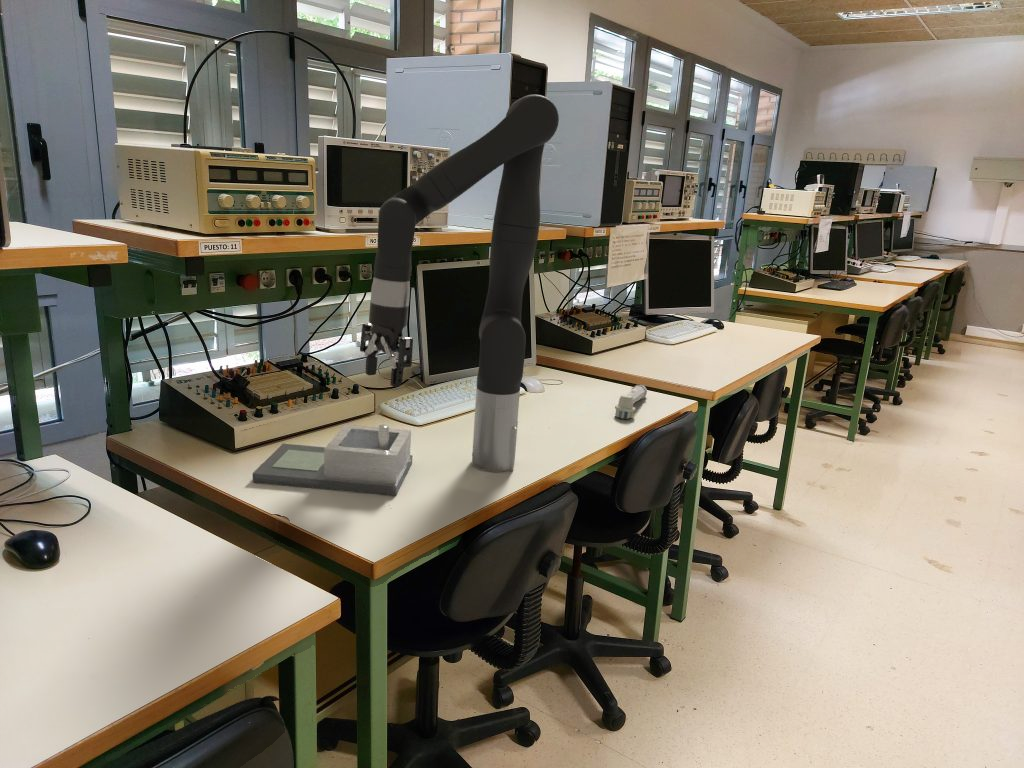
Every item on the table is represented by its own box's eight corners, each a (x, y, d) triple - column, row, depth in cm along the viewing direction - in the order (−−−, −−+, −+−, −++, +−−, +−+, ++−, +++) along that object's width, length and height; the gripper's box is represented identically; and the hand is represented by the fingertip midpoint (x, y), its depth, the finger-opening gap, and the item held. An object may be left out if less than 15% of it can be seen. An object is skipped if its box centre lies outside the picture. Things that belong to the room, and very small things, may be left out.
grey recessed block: (410, 456, 151) (411, 430, 149) (395, 484, 137) (396, 455, 136) (344, 450, 151) (344, 424, 150) (324, 477, 138) (324, 448, 136)
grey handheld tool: (650, 385, 212) (634, 395, 188) (647, 407, 213) (631, 420, 190) (633, 382, 213) (615, 392, 190) (629, 404, 215) (612, 416, 191)
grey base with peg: (412, 463, 152) (413, 415, 149) (396, 496, 137) (397, 442, 134) (283, 452, 153) (282, 403, 150) (252, 482, 138) (251, 429, 135)
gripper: (427, 308, 139) (419, 388, 143) (383, 294, 148) (377, 369, 153) (396, 309, 134) (388, 392, 138) (353, 294, 143) (347, 372, 147)
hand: (382, 380), depth 145 cm, fingers open, 8 cm apart
